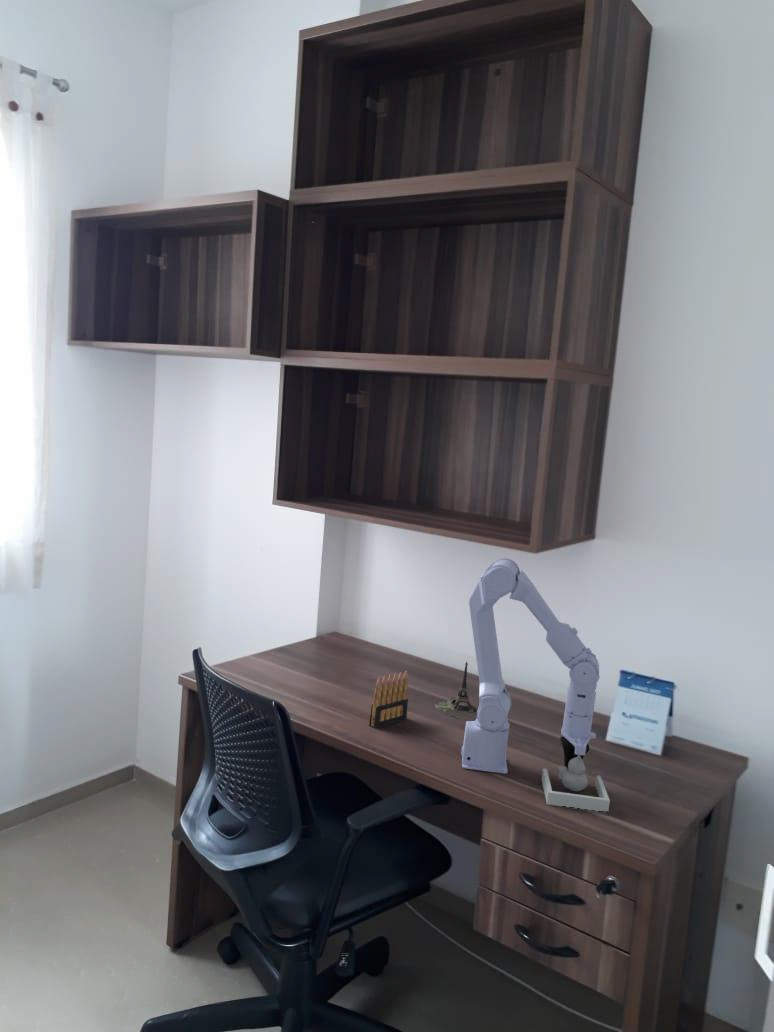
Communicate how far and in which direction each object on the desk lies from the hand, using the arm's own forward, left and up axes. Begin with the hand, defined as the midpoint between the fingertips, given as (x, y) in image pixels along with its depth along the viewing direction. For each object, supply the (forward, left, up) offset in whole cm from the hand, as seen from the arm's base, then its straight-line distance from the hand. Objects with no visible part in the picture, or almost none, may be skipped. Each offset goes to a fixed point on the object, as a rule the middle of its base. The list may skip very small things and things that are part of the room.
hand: (570, 773), depth 169 cm
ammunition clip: (-40, +19, -2) cm, 44 cm away
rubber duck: (0, -4, -2) cm, 4 cm away
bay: (0, -6, -2) cm, 6 cm away
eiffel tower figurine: (-23, +35, -2) cm, 42 cm away
